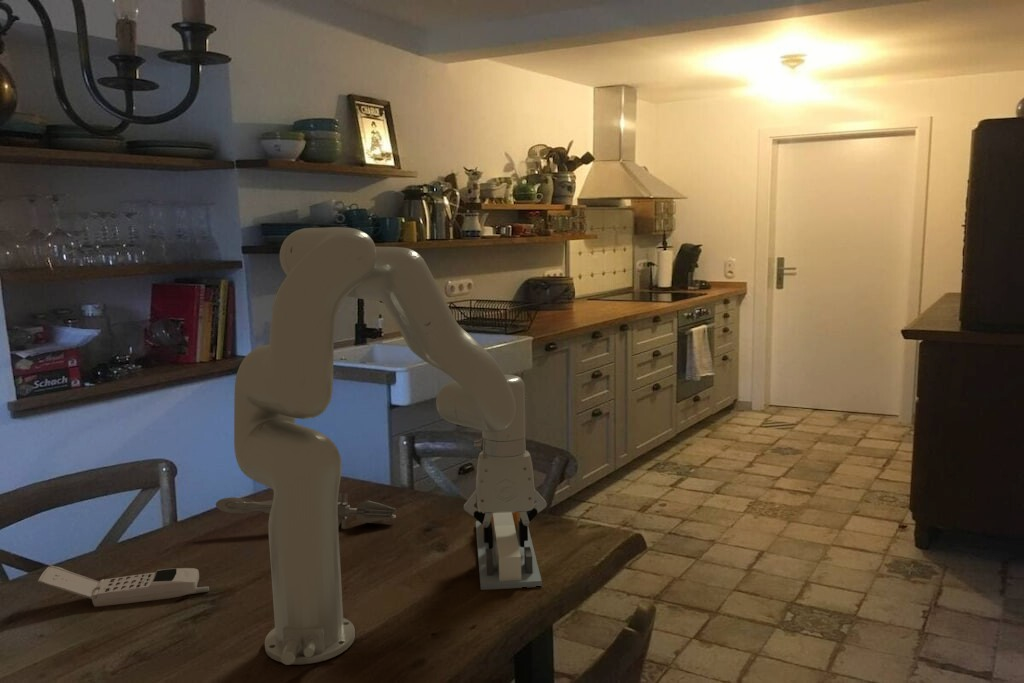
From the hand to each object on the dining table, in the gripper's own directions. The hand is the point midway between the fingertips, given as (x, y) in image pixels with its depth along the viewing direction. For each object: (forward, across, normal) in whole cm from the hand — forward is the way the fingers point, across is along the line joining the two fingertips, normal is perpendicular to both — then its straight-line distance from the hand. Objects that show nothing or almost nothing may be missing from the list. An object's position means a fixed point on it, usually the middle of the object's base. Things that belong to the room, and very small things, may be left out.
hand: (506, 544), depth 144 cm
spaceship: (+3, -38, +19) cm, 43 cm away
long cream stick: (+2, 0, 0) cm, 2 cm away
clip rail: (+3, 0, +2) cm, 3 cm away
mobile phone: (+3, -62, -8) cm, 63 cm away
